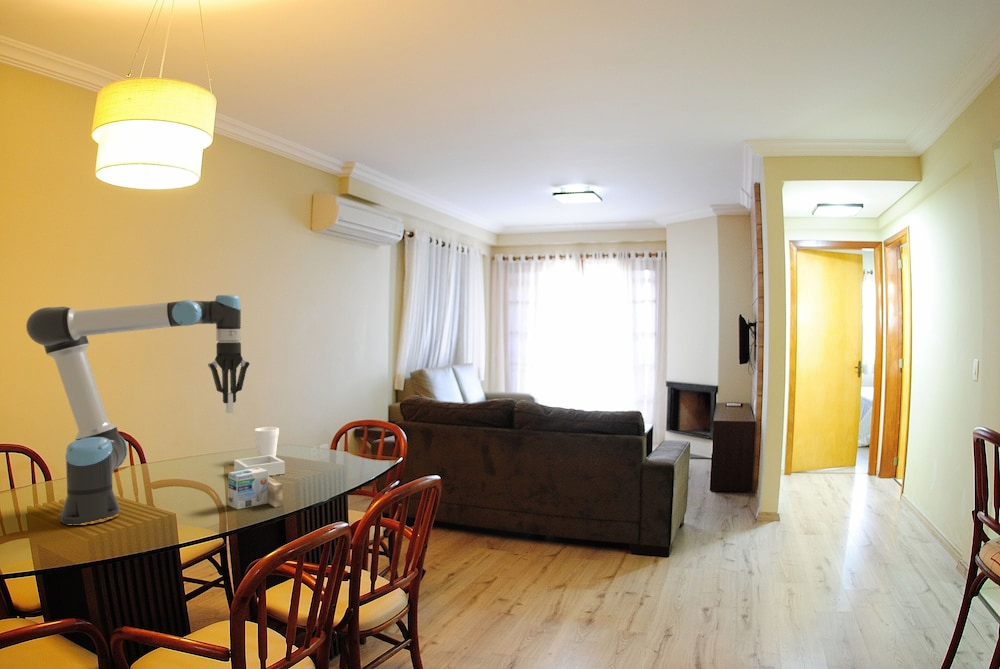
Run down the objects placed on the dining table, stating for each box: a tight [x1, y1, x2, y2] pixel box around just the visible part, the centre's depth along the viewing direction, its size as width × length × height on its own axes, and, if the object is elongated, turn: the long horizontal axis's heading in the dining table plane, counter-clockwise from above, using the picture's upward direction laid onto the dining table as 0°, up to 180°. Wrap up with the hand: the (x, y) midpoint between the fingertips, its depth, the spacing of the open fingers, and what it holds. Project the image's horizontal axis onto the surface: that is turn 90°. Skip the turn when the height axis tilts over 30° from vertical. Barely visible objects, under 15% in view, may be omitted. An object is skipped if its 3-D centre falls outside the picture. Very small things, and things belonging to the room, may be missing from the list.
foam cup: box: [254, 426, 280, 457], centre depth 279 cm, size 10×9×13 cm
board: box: [267, 476, 284, 508], centre depth 222 cm, size 2×20×7 cm, turn 38°
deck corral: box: [233, 455, 286, 476], centre depth 256 cm, size 14×14×5 cm
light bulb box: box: [227, 467, 269, 510], centre depth 217 cm, size 11×7×11 cm, turn 137°
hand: (229, 412), depth 224 cm, fingers closed
